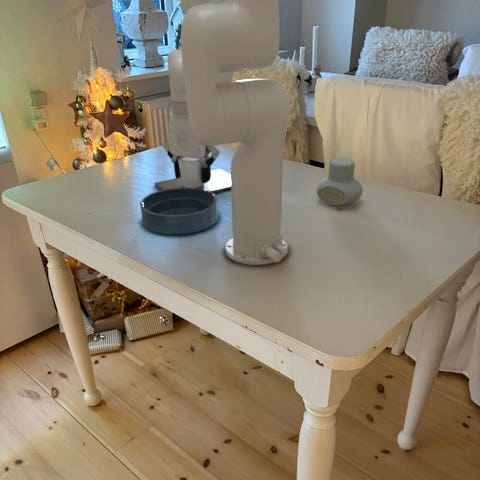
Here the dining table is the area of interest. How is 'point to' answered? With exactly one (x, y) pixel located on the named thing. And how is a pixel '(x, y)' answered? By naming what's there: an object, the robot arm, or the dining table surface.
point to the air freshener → (340, 184)
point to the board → (217, 183)
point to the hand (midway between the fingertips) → (192, 178)
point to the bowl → (179, 210)
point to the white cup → (190, 172)
